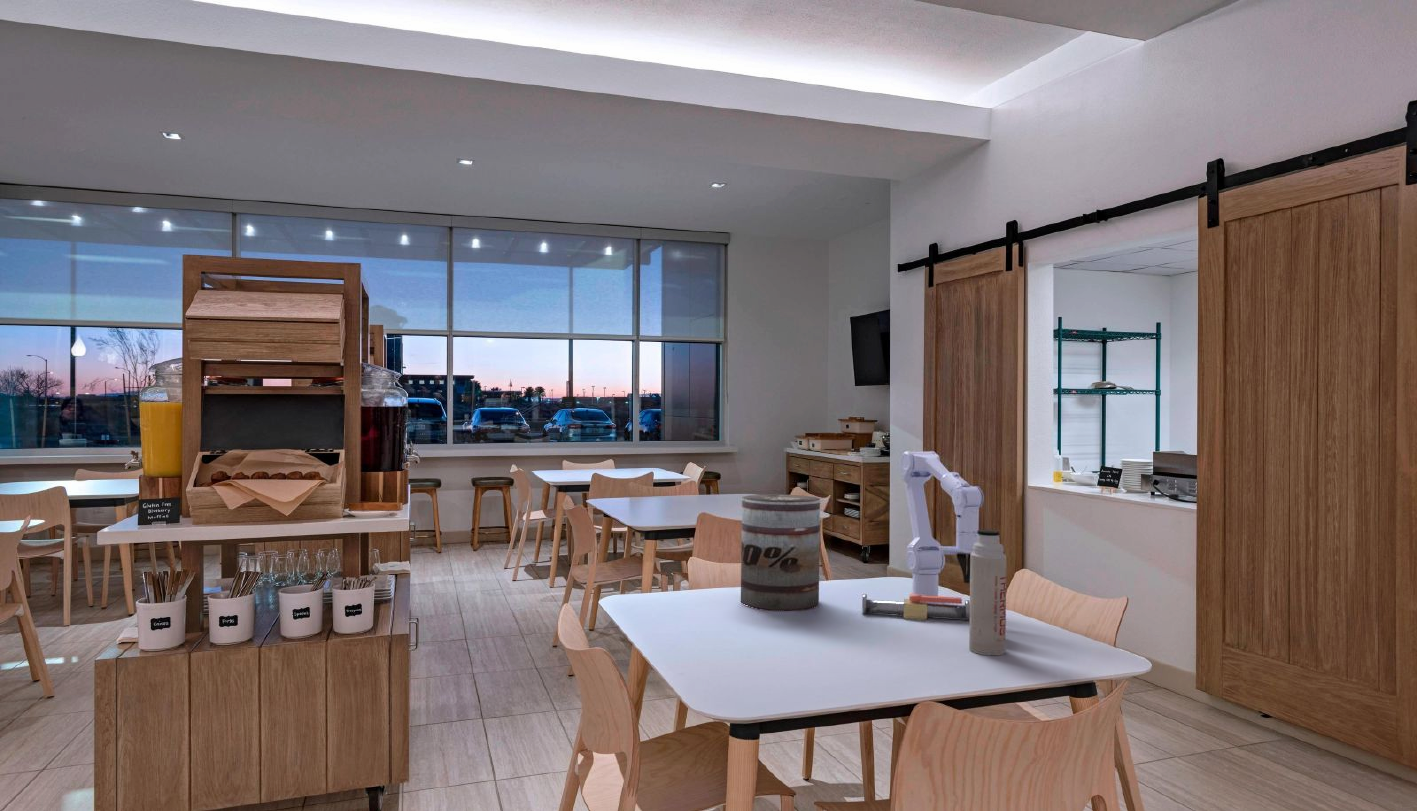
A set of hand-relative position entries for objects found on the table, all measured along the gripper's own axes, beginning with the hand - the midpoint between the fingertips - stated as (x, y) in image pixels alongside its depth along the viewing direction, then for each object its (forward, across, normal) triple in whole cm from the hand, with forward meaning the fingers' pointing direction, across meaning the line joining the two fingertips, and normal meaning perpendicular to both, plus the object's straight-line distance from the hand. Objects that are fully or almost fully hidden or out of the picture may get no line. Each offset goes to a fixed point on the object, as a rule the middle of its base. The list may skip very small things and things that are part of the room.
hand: (966, 582), depth 231 cm
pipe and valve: (+10, -13, -1) cm, 17 cm away
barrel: (+10, -51, +5) cm, 53 cm away
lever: (+5, -8, -1) cm, 10 cm away
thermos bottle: (+10, +3, -31) cm, 33 cm away
